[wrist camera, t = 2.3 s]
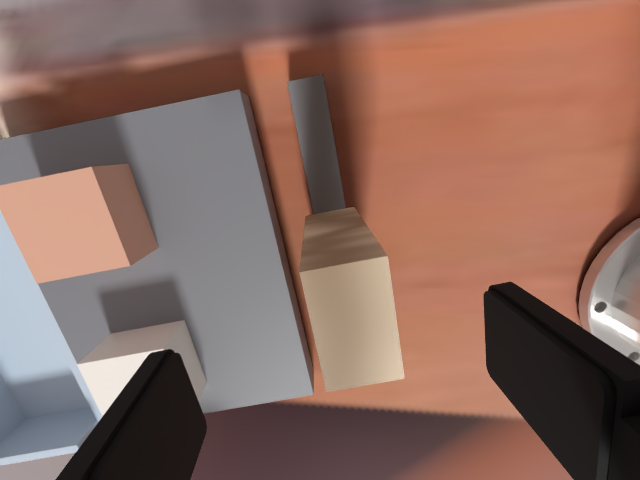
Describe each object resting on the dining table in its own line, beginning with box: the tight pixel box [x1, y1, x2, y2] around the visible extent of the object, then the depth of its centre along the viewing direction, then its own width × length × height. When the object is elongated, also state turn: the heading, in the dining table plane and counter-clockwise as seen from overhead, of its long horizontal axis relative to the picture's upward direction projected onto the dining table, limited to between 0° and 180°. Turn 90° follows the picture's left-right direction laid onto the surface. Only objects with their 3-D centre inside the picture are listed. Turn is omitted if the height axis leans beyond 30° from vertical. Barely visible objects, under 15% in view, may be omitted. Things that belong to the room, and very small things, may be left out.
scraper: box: [287, 74, 405, 392], centre depth 16 cm, size 3×20×11 cm, turn 11°
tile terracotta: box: [0, 164, 158, 284], centre depth 17 cm, size 5×5×3 cm
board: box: [0, 90, 314, 414], centre depth 21 cm, size 15×20×2 cm
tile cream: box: [77, 320, 207, 417], centre depth 19 cm, size 5×5×3 cm
